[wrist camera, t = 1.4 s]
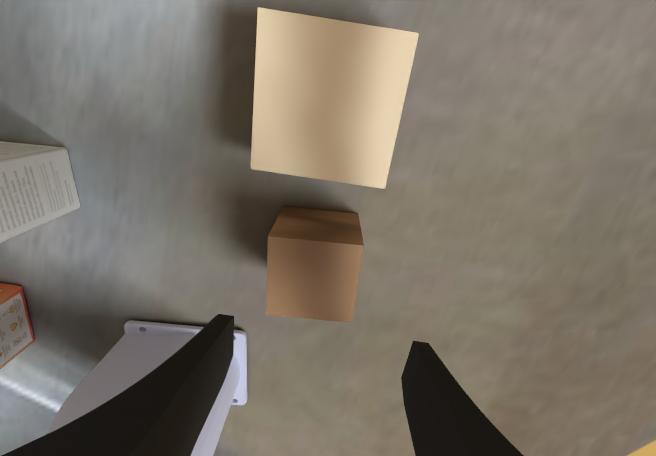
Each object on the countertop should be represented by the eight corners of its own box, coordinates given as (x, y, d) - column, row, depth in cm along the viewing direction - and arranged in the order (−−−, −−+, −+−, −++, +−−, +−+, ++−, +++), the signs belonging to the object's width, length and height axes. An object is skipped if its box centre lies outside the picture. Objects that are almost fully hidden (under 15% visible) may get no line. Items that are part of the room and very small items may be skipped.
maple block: (267, 155, 20) (250, 168, 16) (275, 27, 17) (257, 7, 13) (376, 171, 20) (384, 188, 16) (401, 47, 17) (418, 33, 13)
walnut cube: (281, 270, 23) (266, 314, 18) (283, 205, 21) (267, 236, 16) (349, 277, 23) (352, 322, 18) (357, 213, 21) (363, 245, 16)
